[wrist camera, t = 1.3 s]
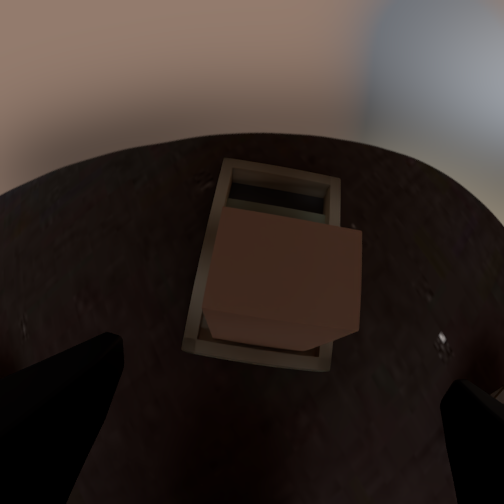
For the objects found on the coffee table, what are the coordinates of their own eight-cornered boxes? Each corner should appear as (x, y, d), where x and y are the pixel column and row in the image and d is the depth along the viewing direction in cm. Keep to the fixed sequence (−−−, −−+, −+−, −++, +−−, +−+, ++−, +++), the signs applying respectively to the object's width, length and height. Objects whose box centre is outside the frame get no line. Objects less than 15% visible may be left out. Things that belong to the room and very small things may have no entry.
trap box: (319, 371, 20) (329, 371, 18) (185, 352, 20) (181, 349, 18) (332, 193, 25) (340, 178, 23) (224, 174, 25) (224, 157, 23)
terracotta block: (302, 351, 19) (358, 330, 11) (213, 338, 19) (201, 307, 11) (309, 291, 21) (361, 231, 12) (224, 277, 20) (222, 206, 12)
